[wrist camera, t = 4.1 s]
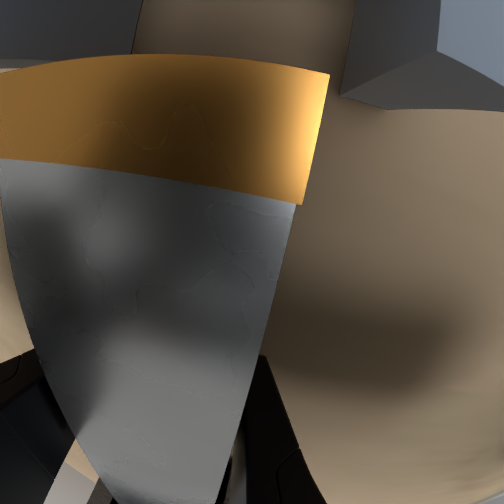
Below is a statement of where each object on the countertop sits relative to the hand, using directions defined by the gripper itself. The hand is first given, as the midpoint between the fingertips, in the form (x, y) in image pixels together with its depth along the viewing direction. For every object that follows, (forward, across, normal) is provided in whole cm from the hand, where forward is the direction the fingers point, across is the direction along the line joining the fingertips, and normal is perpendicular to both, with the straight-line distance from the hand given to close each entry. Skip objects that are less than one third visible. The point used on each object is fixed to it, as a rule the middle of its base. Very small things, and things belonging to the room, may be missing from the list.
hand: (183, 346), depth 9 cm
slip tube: (+1, 0, +4) cm, 4 cm away
